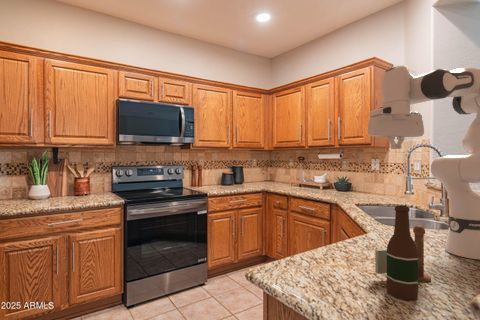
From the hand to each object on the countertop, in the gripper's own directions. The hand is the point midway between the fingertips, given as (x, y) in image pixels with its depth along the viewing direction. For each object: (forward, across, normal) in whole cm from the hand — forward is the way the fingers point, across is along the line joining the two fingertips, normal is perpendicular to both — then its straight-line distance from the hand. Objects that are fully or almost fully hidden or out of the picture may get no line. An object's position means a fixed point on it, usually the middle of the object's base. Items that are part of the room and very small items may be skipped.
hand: (396, 149), depth 99 cm
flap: (+39, +11, +13) cm, 42 cm away
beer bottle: (+41, +16, +23) cm, 49 cm away
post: (+41, +3, +14) cm, 43 cm away
